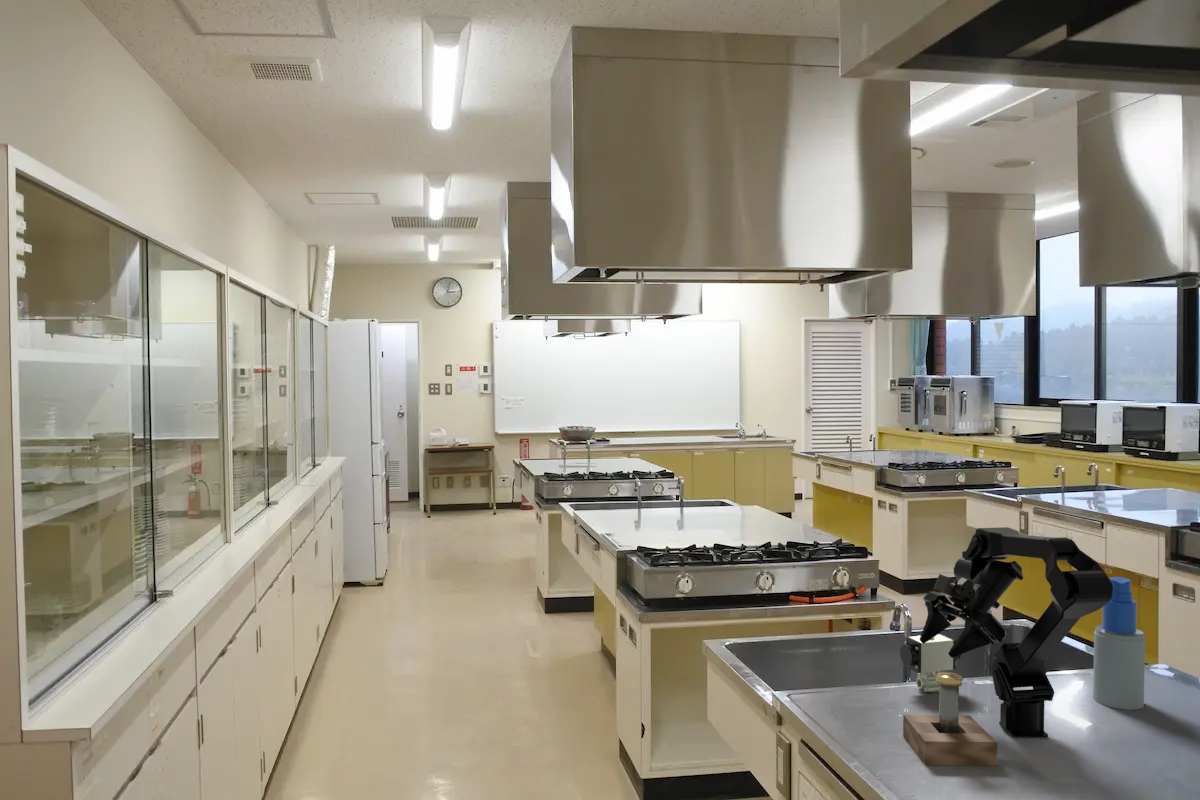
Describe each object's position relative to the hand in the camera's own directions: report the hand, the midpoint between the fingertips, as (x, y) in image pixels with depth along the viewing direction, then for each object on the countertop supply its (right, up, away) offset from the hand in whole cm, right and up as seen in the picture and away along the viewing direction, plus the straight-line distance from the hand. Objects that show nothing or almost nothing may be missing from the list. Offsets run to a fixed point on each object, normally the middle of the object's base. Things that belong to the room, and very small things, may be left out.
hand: (935, 648), depth 173 cm
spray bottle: (+41, -14, +10) cm, 44 cm away
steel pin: (-3, -14, -14) cm, 20 cm away
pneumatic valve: (+5, -13, +17) cm, 22 cm away
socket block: (-3, -14, -14) cm, 20 cm away
